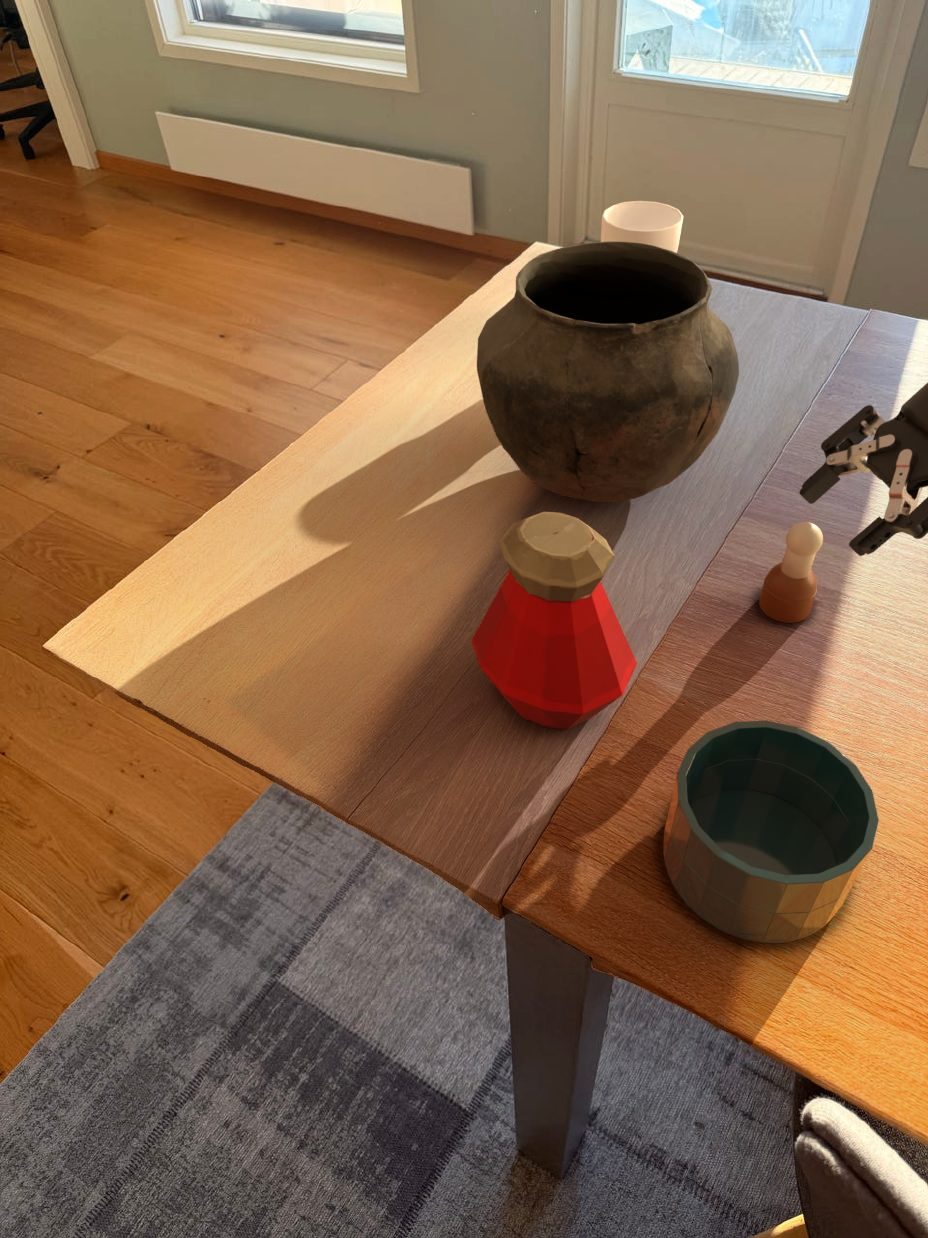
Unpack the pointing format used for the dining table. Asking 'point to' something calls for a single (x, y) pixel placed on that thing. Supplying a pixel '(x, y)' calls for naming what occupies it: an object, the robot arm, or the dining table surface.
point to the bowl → (767, 830)
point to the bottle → (554, 624)
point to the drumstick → (793, 577)
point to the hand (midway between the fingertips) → (828, 524)
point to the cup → (643, 224)
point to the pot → (607, 369)
